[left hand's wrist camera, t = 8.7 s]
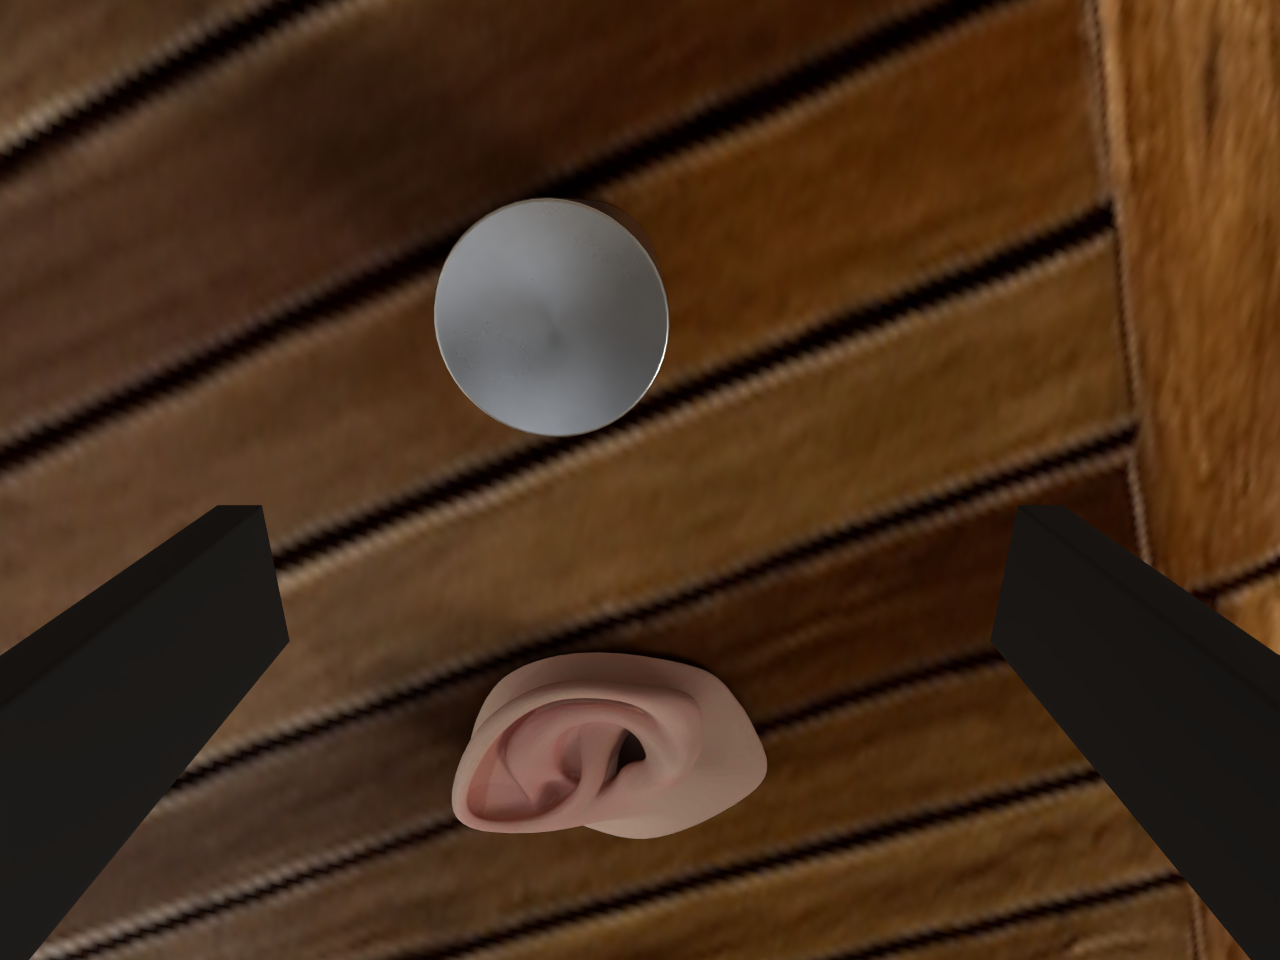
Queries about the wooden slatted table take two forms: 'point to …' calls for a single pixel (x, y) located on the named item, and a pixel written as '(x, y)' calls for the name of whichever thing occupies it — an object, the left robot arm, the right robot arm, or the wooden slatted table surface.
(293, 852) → the wooden slatted table surface
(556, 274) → the can
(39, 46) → the wooden slatted table surface
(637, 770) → the anatomical model
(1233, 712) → the left robot arm
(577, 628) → the wooden slatted table surface
